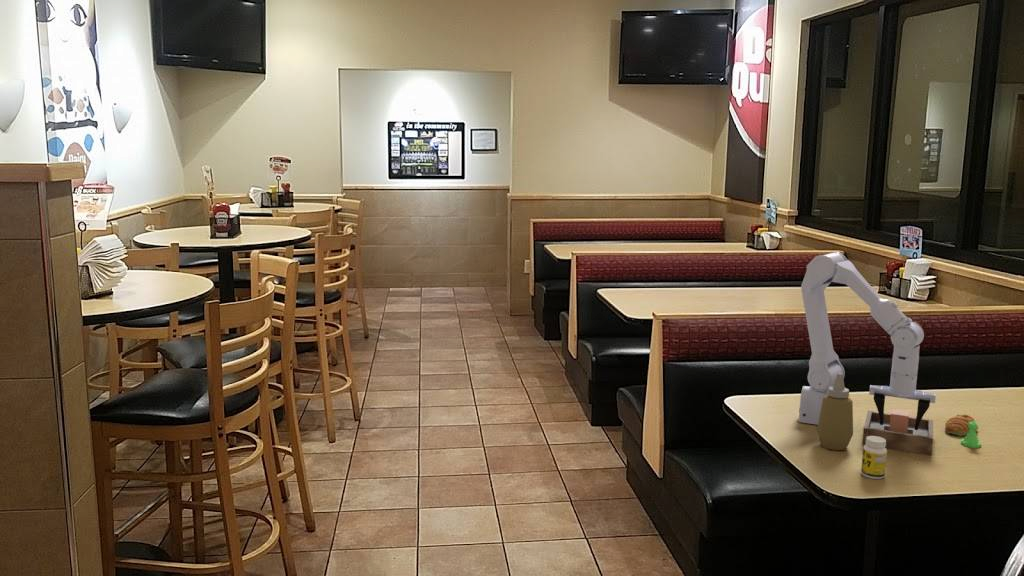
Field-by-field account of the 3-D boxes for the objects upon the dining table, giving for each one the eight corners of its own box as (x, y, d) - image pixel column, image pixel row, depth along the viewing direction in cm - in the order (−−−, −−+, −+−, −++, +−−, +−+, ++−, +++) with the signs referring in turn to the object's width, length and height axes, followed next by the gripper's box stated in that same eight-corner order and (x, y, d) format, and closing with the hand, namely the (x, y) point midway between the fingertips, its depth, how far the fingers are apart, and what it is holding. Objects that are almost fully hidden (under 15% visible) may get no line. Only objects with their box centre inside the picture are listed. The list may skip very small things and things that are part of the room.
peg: (887, 441, 200) (890, 413, 199) (888, 436, 203) (891, 409, 202) (906, 444, 198) (908, 416, 197) (906, 438, 202) (909, 411, 200)
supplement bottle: (856, 471, 181) (860, 435, 180) (877, 470, 182) (880, 434, 180) (867, 479, 176) (871, 442, 175) (888, 479, 177) (892, 442, 175)
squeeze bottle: (850, 442, 198) (857, 371, 195) (852, 454, 191) (859, 380, 188) (815, 438, 201) (821, 368, 198) (816, 450, 193) (822, 376, 190)
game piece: (982, 448, 196) (985, 425, 195) (962, 446, 197) (965, 422, 196) (978, 442, 200) (981, 419, 199) (959, 440, 201) (961, 417, 200)
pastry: (967, 440, 202) (968, 425, 201) (937, 433, 207) (939, 419, 206) (979, 431, 208) (980, 416, 208) (950, 424, 213) (951, 410, 212)
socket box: (862, 443, 198) (863, 428, 197) (866, 425, 211) (868, 410, 210) (931, 455, 191) (933, 438, 190) (931, 435, 204) (933, 420, 204)
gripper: (870, 372, 198) (865, 426, 200) (937, 381, 191) (931, 436, 194) (872, 365, 204) (867, 417, 206) (937, 373, 197) (931, 427, 200)
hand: (898, 426), depth 200 cm, fingers open, 7 cm apart
